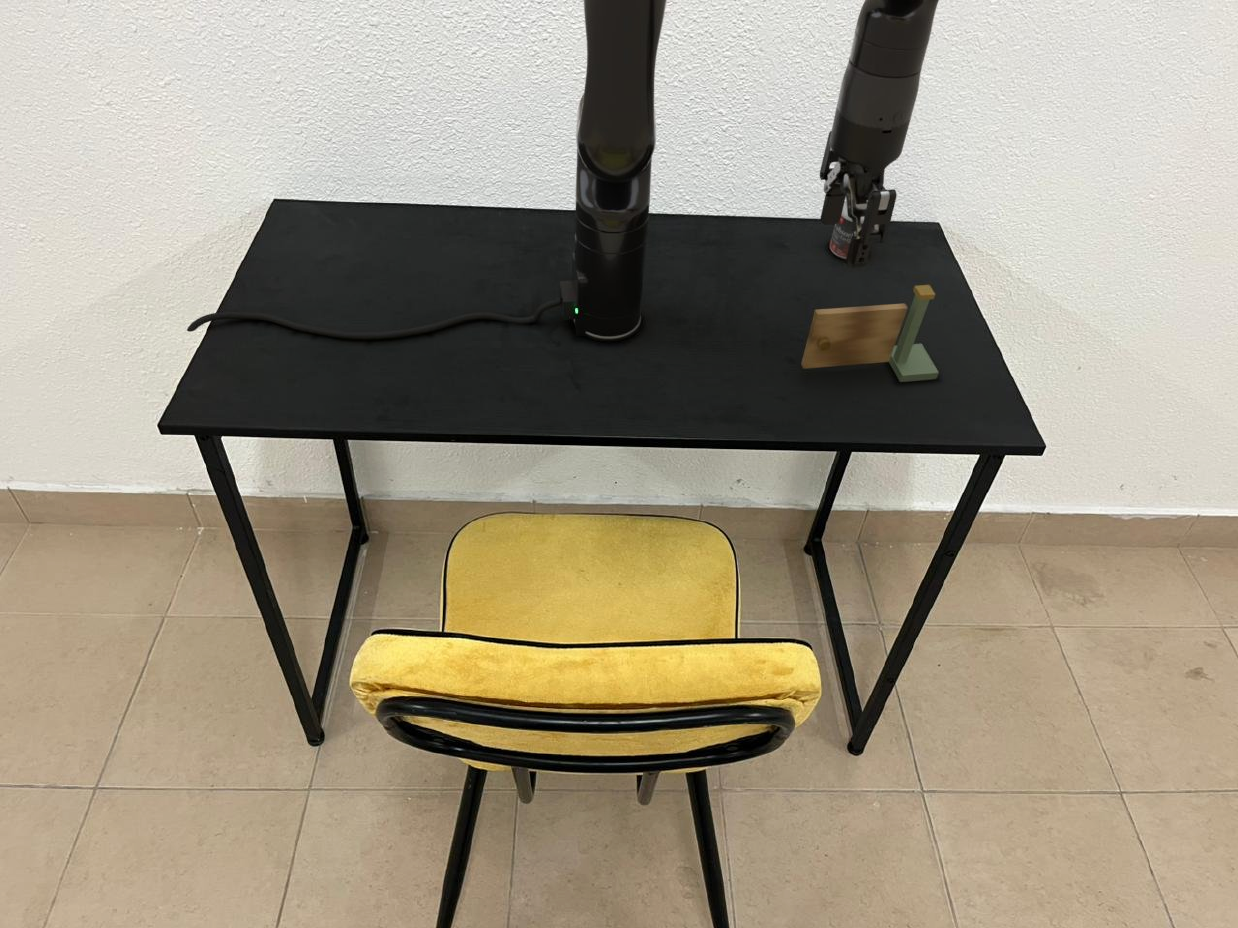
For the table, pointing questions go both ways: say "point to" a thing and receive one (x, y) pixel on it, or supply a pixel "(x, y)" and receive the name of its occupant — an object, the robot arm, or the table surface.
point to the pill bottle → (843, 232)
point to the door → (853, 335)
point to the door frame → (911, 357)
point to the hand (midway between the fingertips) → (842, 243)
